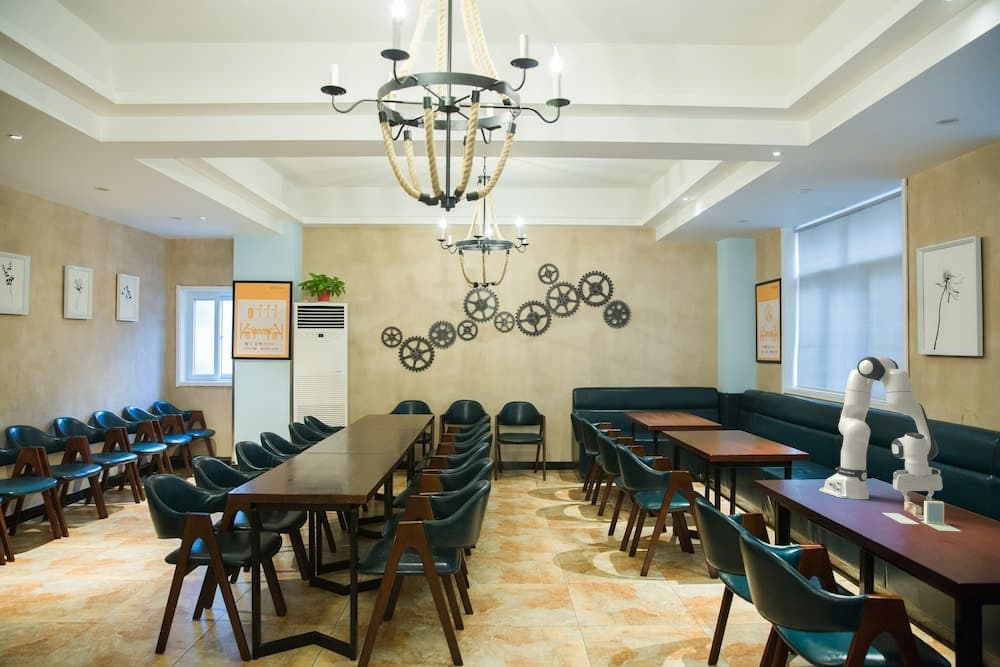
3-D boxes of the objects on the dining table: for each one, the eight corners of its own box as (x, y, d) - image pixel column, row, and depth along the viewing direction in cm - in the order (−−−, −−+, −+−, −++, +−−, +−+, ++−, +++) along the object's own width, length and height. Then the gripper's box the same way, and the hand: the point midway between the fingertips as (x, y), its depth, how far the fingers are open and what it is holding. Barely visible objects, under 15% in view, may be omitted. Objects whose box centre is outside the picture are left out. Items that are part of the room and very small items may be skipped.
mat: (919, 521, 267) (919, 520, 267) (941, 522, 266) (941, 521, 266) (938, 531, 254) (938, 530, 254) (961, 532, 254) (961, 531, 254)
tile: (923, 521, 266) (924, 500, 266) (940, 522, 266) (941, 501, 266) (926, 523, 264) (927, 502, 264) (944, 524, 263) (944, 502, 263)
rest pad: (882, 514, 278) (882, 512, 278) (898, 514, 278) (898, 513, 278) (902, 524, 262) (902, 523, 262) (919, 525, 262) (919, 524, 262)
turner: (901, 510, 285) (901, 501, 285) (912, 511, 284) (912, 501, 284) (920, 520, 270) (920, 510, 270) (932, 520, 270) (932, 510, 270)
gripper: (897, 471, 277) (898, 502, 277) (944, 470, 277) (945, 501, 276) (889, 468, 283) (890, 499, 283) (934, 467, 283) (936, 498, 282)
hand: (918, 500), depth 280 cm, fingers open, 8 cm apart
